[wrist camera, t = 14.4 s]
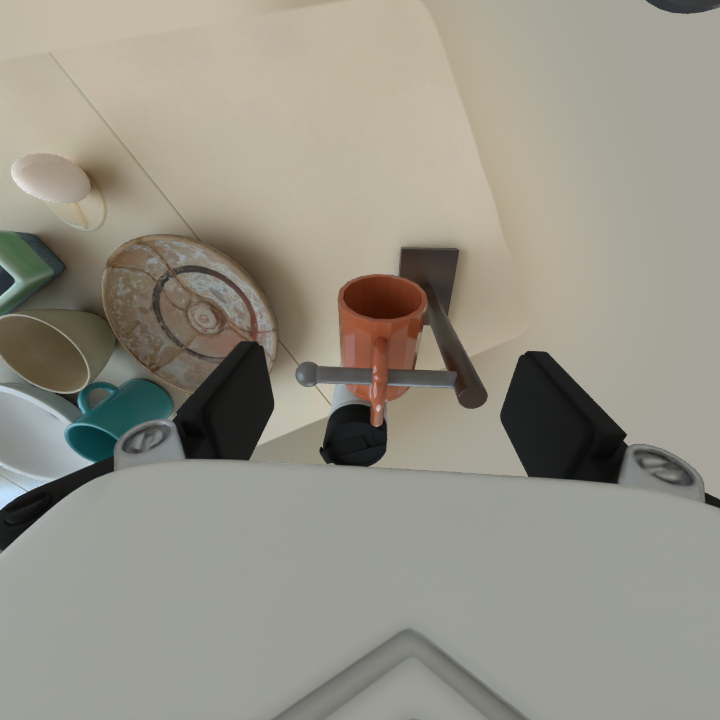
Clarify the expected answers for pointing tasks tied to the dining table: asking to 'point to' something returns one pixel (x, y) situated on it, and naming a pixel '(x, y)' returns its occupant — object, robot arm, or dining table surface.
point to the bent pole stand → (436, 279)
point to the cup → (114, 416)
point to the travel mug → (352, 431)
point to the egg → (51, 178)
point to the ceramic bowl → (183, 307)
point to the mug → (380, 333)
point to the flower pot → (56, 347)
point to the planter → (24, 268)
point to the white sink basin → (36, 433)
